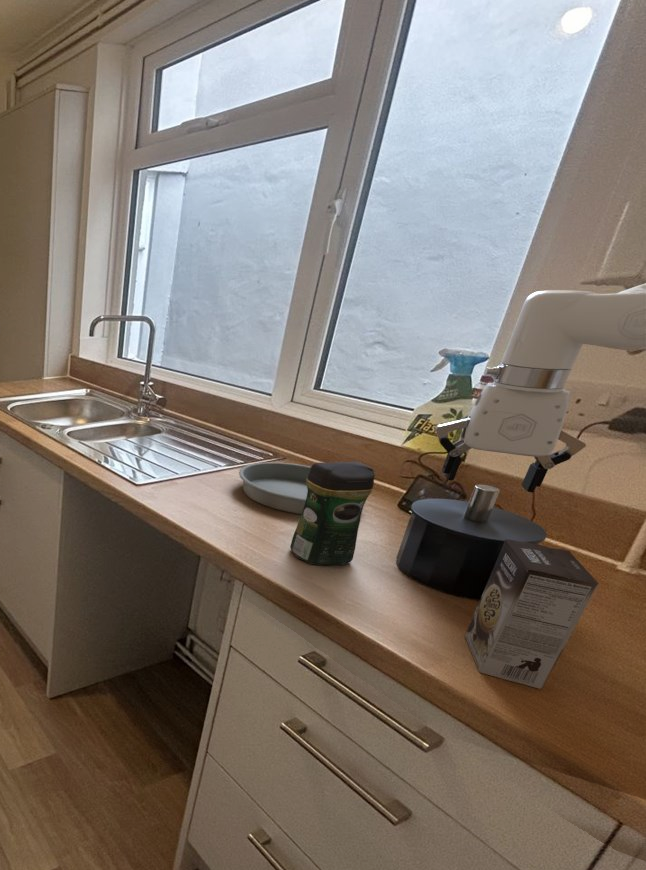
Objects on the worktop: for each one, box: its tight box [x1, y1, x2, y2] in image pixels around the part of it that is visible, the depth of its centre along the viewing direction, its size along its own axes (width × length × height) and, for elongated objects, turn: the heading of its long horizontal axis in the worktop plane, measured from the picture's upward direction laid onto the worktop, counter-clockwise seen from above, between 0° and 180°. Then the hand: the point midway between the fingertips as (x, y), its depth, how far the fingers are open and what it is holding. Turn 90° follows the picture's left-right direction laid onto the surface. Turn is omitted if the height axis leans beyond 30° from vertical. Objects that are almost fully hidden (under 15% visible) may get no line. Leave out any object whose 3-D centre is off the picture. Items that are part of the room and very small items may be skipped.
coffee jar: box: [289, 461, 376, 566], centre depth 95 cm, size 10×8×19 cm
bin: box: [396, 512, 540, 601], centre depth 90 cm, size 16×16×10 cm
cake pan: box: [238, 461, 311, 515], centre depth 123 cm, size 25×25×4 cm
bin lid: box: [410, 484, 548, 545], centre depth 87 cm, size 17×17×7 cm
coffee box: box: [464, 539, 599, 690], centre depth 68 cm, size 9×6×16 cm
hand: (486, 483), depth 85 cm, fingers open, 9 cm apart
